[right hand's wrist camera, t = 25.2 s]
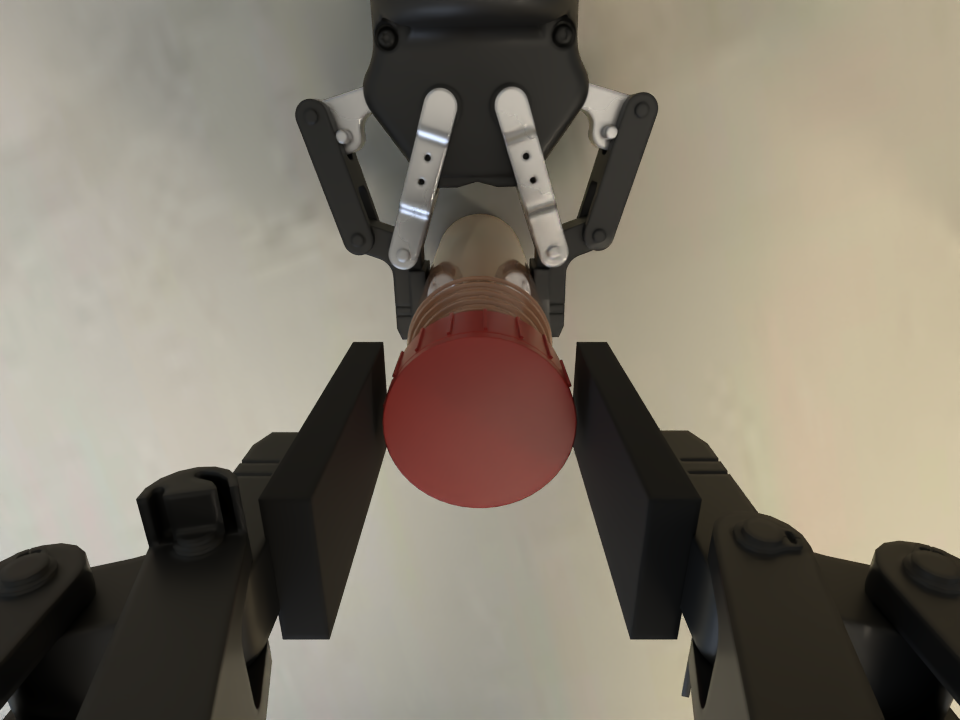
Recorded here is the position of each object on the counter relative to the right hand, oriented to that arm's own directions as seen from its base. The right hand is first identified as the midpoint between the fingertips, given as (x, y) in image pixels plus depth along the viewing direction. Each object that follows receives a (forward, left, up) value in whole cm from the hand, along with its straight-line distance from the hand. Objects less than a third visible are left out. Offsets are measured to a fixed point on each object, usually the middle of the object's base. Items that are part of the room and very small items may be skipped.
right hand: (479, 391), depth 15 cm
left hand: (-2, +2, -11) cm, 11 cm away
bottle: (0, 0, -17) cm, 17 cm away
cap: (0, 0, +2) cm, 2 cm away
